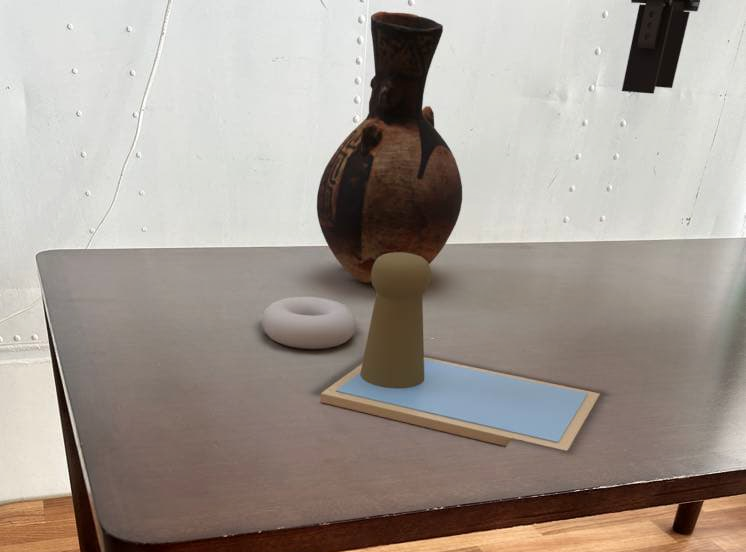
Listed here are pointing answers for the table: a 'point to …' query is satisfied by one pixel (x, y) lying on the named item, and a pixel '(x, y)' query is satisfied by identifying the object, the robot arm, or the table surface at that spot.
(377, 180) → the ceramic vessel
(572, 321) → the table surface
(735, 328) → the table surface
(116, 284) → the table surface
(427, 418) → the tablet
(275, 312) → the donut
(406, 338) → the olive pawn piece
